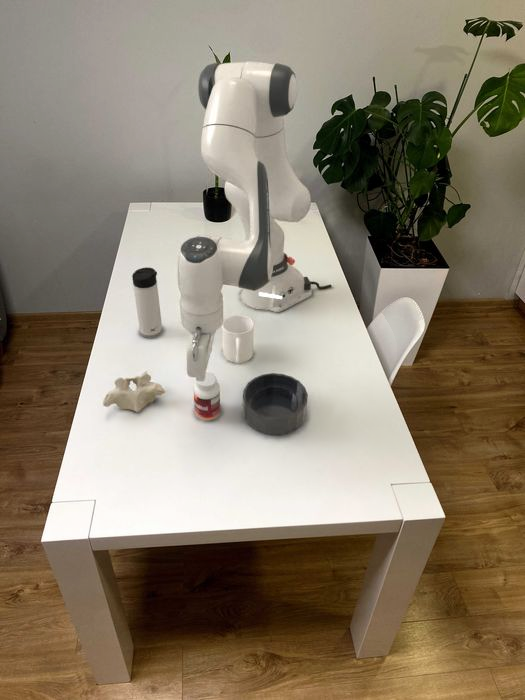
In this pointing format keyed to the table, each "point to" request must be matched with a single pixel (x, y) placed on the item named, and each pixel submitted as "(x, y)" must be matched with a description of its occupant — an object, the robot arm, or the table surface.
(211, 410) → the pill bottle
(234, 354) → the cup
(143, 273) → the travel mug
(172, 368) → the table surface
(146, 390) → the bone
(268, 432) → the bowl
